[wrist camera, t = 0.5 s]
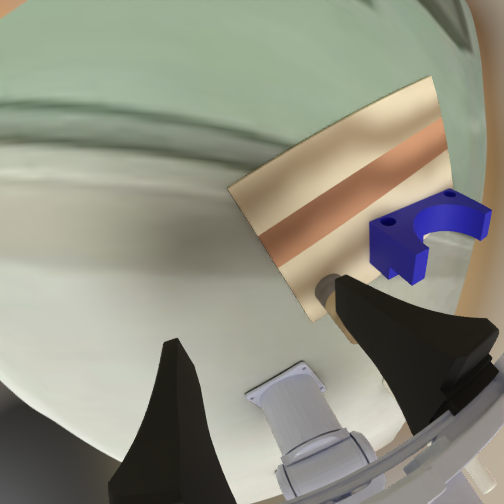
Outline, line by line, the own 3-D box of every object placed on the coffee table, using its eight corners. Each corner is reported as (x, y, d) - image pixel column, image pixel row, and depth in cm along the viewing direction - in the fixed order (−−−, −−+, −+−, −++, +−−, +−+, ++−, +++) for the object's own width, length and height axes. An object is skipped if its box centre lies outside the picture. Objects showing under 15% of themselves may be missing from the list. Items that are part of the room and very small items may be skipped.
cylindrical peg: (346, 288, 27) (382, 328, 22) (320, 306, 27) (353, 349, 22) (337, 267, 25) (377, 308, 20) (310, 286, 25) (345, 332, 20)
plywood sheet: (452, 210, 27) (454, 211, 27) (311, 321, 28) (312, 323, 27) (428, 75, 18) (431, 76, 18) (226, 187, 19) (227, 189, 19)
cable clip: (369, 262, 26) (409, 299, 21) (368, 221, 23) (416, 255, 19) (446, 223, 27) (484, 248, 23) (449, 187, 25) (491, 209, 20)
